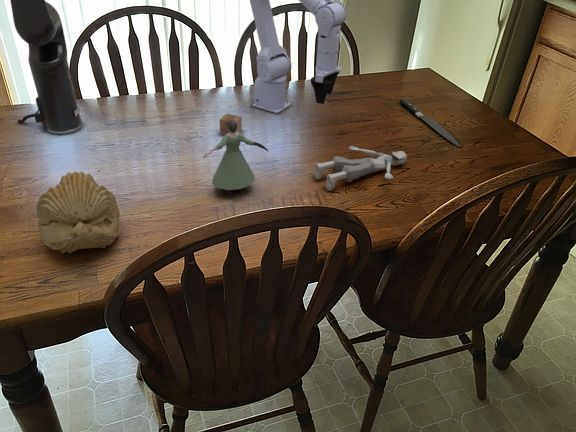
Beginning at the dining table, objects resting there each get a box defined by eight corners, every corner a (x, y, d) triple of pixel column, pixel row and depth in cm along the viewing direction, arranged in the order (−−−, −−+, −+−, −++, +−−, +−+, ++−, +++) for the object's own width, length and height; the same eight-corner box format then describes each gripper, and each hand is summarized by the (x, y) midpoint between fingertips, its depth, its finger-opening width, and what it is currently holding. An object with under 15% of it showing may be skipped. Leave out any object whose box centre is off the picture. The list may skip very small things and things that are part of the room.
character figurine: (262, 174, 124) (263, 106, 114) (275, 191, 118) (277, 121, 108) (200, 186, 119) (194, 116, 108) (210, 205, 113) (205, 133, 102)
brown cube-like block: (220, 134, 141) (219, 119, 138) (226, 128, 144) (225, 113, 141) (235, 137, 140) (235, 122, 137) (242, 131, 143) (241, 116, 140)
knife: (466, 148, 141) (467, 144, 140) (454, 149, 140) (456, 144, 139) (407, 101, 165) (409, 97, 164) (397, 101, 163) (398, 97, 163)
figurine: (340, 203, 116) (425, 179, 125) (342, 185, 112) (429, 162, 122) (304, 167, 128) (384, 148, 138) (305, 150, 125) (387, 131, 134)
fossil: (46, 277, 92) (24, 211, 83) (42, 224, 105) (23, 162, 96) (130, 258, 97) (117, 194, 89) (117, 209, 110) (105, 149, 101)
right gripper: (335, 61, 129) (330, 110, 137) (348, 45, 140) (343, 91, 148) (309, 57, 130) (306, 105, 138) (324, 41, 142) (320, 87, 150)
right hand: (323, 98), depth 143 cm, fingers open, 7 cm apart
